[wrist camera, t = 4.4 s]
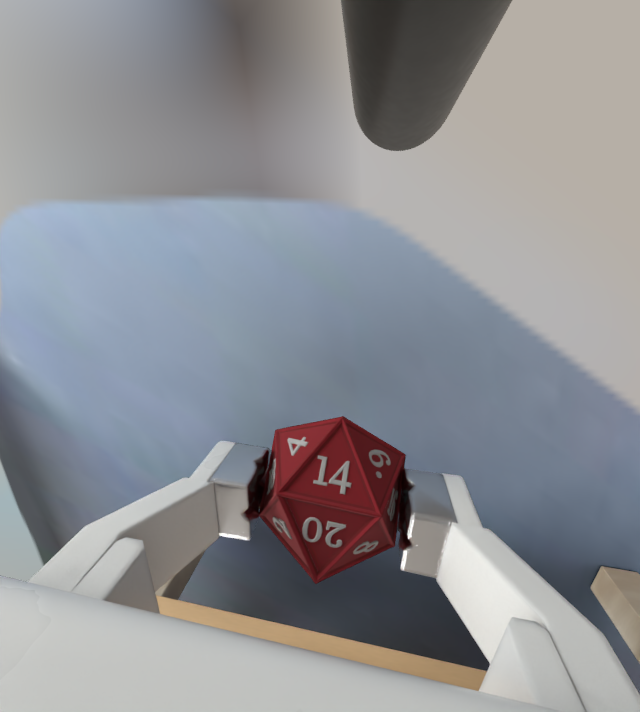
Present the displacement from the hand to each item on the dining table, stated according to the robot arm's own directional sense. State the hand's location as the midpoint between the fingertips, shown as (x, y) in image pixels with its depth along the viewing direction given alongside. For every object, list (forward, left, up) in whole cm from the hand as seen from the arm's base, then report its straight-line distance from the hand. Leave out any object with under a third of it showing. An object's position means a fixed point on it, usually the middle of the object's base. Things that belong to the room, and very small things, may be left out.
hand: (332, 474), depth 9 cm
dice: (0, 0, -2) cm, 2 cm away
